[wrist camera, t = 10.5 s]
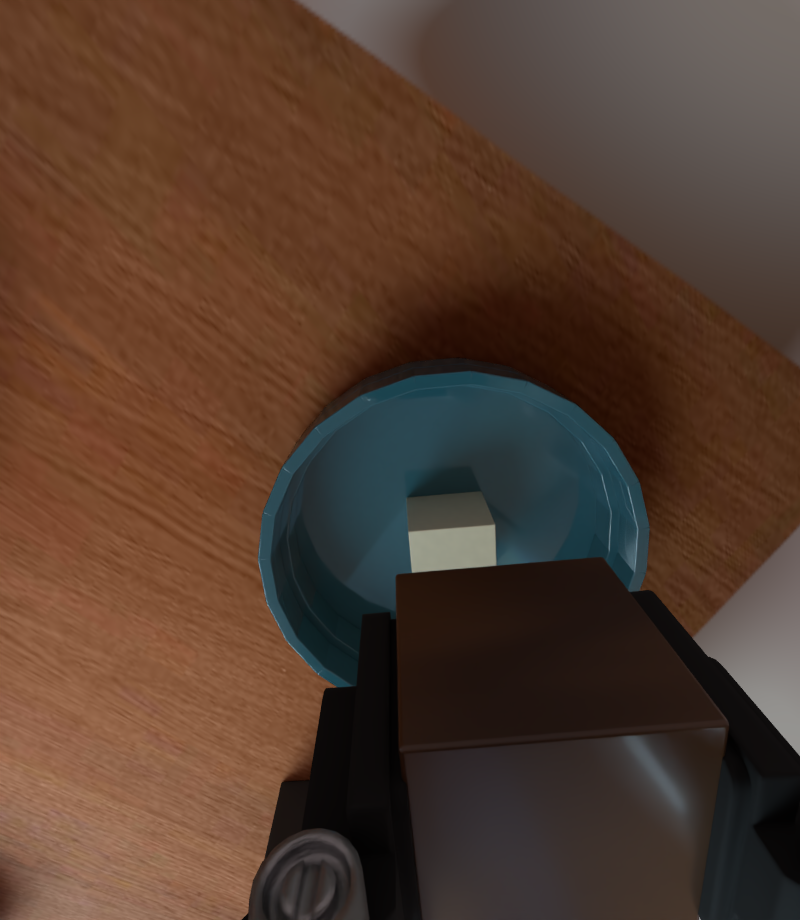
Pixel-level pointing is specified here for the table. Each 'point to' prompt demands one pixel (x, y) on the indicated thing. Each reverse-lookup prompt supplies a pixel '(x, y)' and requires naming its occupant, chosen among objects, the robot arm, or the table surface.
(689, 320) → the table surface
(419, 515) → the cream block
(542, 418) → the bowl
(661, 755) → the walnut block
